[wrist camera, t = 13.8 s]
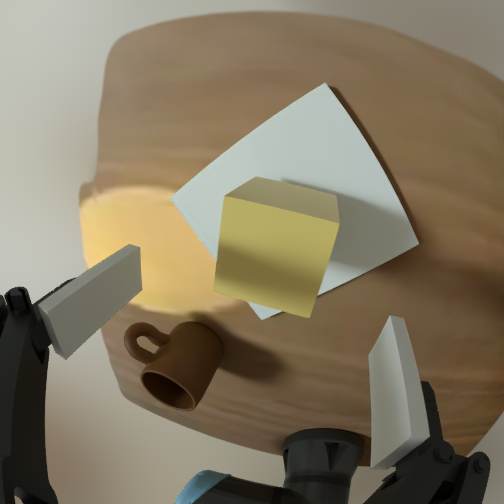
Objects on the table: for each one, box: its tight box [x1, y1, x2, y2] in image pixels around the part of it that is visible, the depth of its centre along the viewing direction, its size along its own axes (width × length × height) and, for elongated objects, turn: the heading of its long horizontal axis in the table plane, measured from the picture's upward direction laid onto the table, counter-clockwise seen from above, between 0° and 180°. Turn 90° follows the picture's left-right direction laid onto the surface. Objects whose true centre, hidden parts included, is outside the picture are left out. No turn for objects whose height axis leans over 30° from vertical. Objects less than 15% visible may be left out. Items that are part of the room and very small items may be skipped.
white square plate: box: [170, 83, 419, 320], centre depth 21 cm, size 18×16×9 cm
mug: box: [124, 322, 224, 411], centre depth 30 cm, size 12×8×9 cm, turn 37°
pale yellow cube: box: [214, 176, 340, 318], centre depth 19 cm, size 6×6×7 cm
